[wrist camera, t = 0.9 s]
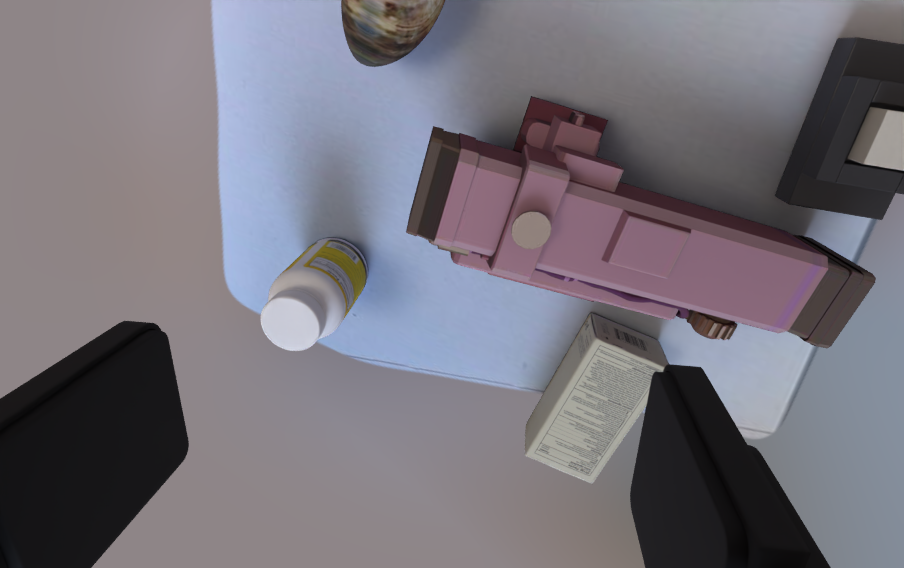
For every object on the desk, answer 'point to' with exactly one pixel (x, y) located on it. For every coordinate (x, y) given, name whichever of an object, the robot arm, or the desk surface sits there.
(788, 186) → the dark gray block frame
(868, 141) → the key back
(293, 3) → the desk surface
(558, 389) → the cosmetic box
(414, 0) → the seashell
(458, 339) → the desk surface
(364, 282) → the supplement bottle
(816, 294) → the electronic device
